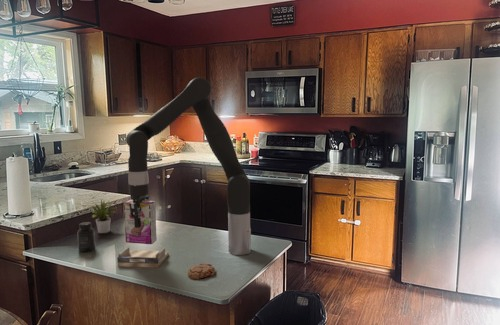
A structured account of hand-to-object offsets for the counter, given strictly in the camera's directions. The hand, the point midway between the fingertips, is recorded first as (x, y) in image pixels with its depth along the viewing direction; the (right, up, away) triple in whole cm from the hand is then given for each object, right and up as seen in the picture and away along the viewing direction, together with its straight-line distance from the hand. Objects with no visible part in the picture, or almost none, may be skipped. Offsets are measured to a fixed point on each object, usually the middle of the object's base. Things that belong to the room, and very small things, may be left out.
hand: (140, 224), depth 149 cm
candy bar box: (0, -7, +1) cm, 7 cm away
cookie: (+25, -17, -9) cm, 32 cm away
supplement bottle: (-28, -14, +16) cm, 35 cm away
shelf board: (0, -15, +4) cm, 15 cm away
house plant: (-30, -11, +40) cm, 51 cm away
